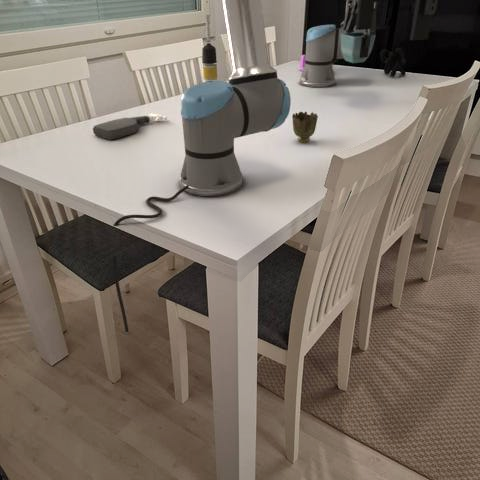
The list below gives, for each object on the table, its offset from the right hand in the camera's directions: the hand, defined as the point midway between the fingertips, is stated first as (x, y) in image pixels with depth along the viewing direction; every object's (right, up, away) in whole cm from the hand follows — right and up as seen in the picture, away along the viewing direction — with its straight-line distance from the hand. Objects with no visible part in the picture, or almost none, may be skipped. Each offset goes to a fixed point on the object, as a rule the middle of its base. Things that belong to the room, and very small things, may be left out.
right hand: (355, 55), depth 157 cm
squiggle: (+31, +12, +52) cm, 61 cm away
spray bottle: (-77, -28, -9) cm, 82 cm away
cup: (-22, -36, -23) cm, 48 cm away
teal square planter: (0, -2, +1) cm, 2 cm away
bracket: (-5, +21, +68) cm, 71 cm away
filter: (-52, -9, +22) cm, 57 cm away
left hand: (-17, -33, -86) cm, 94 cm away
